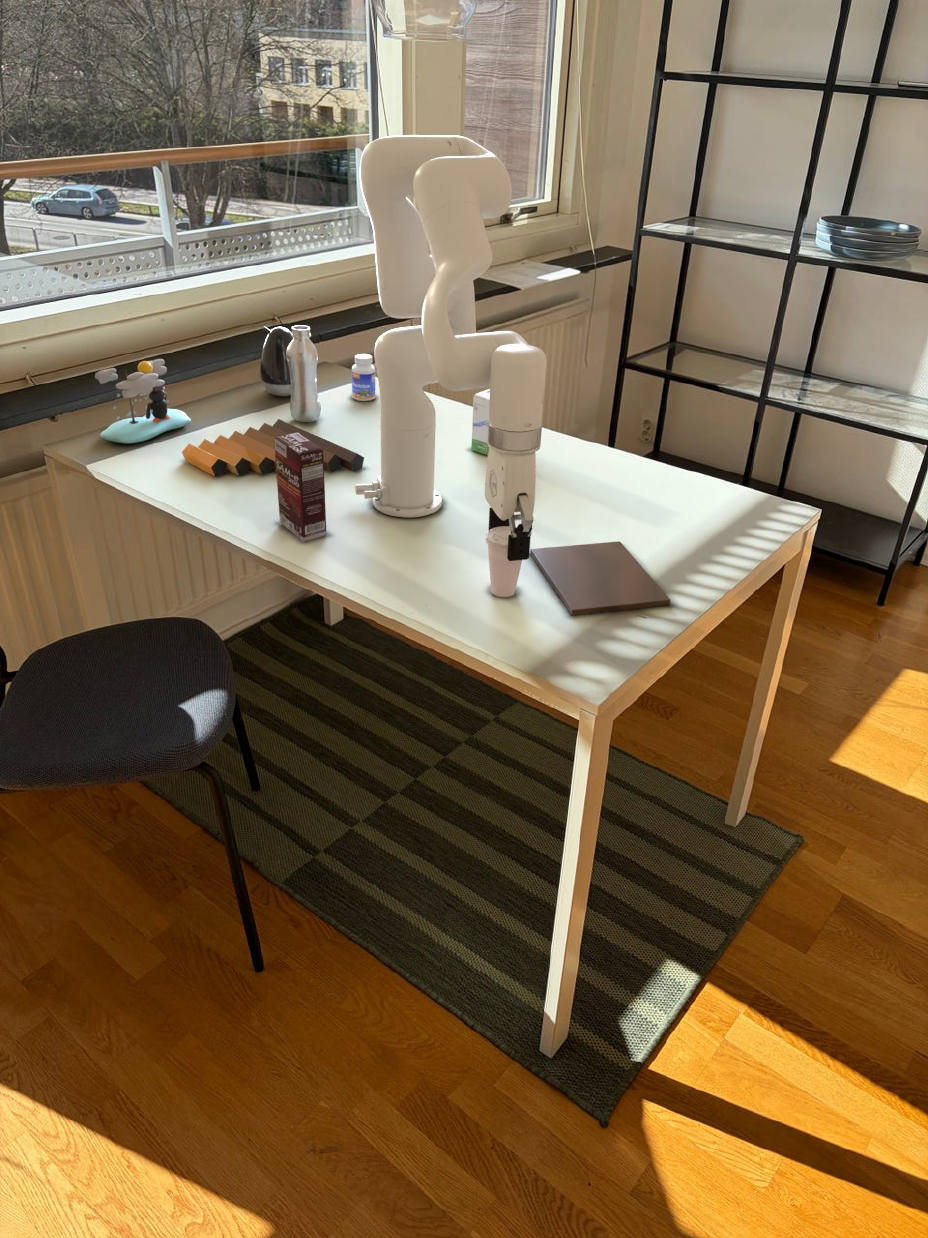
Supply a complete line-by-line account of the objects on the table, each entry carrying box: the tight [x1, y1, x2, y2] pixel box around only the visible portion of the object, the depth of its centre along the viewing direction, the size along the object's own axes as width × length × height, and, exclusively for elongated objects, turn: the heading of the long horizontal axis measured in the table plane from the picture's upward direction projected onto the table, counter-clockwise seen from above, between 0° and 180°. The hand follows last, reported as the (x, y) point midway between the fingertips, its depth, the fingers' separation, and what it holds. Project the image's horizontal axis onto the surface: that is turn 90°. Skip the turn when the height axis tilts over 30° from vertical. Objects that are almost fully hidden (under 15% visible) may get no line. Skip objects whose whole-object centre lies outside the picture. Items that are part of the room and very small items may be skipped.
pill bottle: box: [351, 353, 376, 402], centre depth 220 cm, size 5×5×10 cm
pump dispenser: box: [259, 326, 293, 397], centre depth 220 cm, size 10×10×15 cm
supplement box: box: [274, 432, 328, 543], centre depth 159 cm, size 9×5×16 cm, turn 37°
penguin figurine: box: [94, 358, 193, 444], centre depth 195 cm, size 20×11×15 cm, turn 144°
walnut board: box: [529, 540, 671, 616], centre depth 153 cm, size 16×20×1 cm
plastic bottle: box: [286, 325, 322, 423], centre depth 204 cm, size 6×7×20 cm
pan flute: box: [181, 418, 365, 477], centre depth 186 cm, size 25×3×25 cm
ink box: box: [470, 388, 490, 456], centre depth 196 cm, size 8×5×12 cm, turn 141°
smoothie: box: [484, 512, 523, 598], centre depth 145 cm, size 6×6×14 cm
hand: (508, 544), depth 144 cm, fingers open, 9 cm apart
